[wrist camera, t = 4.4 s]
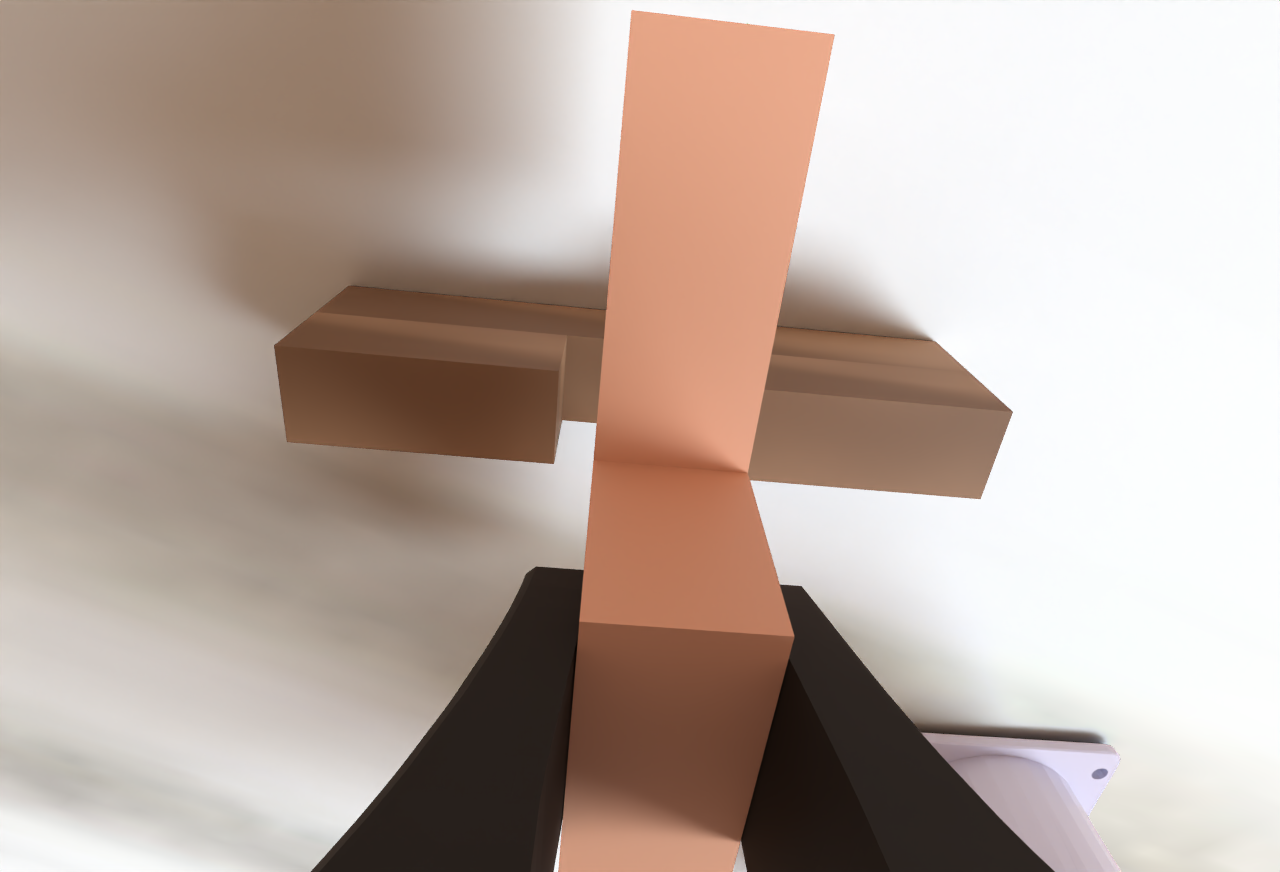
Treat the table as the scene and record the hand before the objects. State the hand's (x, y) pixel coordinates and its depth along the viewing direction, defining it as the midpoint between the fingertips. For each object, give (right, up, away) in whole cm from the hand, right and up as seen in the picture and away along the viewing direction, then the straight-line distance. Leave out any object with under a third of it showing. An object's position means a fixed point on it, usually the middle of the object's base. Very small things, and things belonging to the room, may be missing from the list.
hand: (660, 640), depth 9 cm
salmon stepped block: (0, +2, +5) cm, 5 cm away
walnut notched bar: (0, +5, +9) cm, 10 cm away
